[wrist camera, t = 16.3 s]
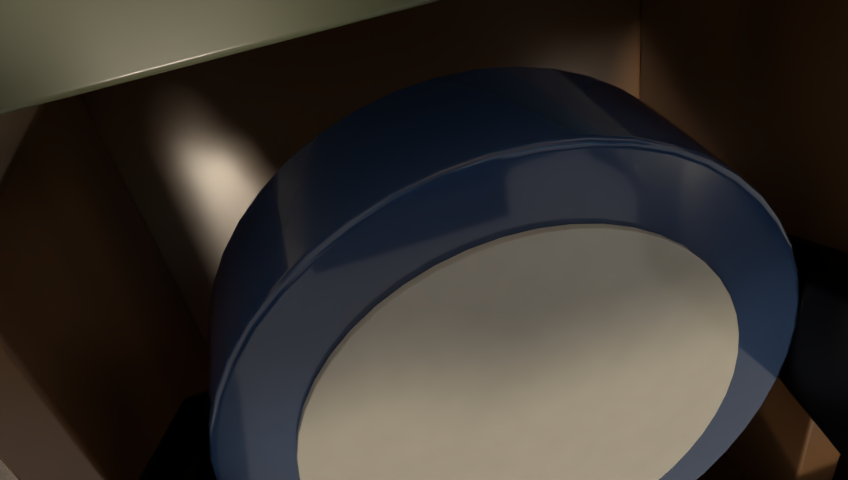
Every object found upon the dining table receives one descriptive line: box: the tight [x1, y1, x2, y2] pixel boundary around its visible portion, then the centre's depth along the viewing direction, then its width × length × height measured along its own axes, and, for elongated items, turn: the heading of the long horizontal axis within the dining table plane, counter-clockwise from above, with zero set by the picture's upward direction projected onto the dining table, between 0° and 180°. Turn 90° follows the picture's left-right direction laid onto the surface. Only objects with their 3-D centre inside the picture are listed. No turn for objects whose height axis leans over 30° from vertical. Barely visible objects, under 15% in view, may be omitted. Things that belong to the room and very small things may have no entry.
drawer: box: [0, 0, 848, 480], centre depth 10 cm, size 18×12×7 cm
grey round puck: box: [208, 66, 799, 480], centre depth 9 cm, size 7×7×3 cm
